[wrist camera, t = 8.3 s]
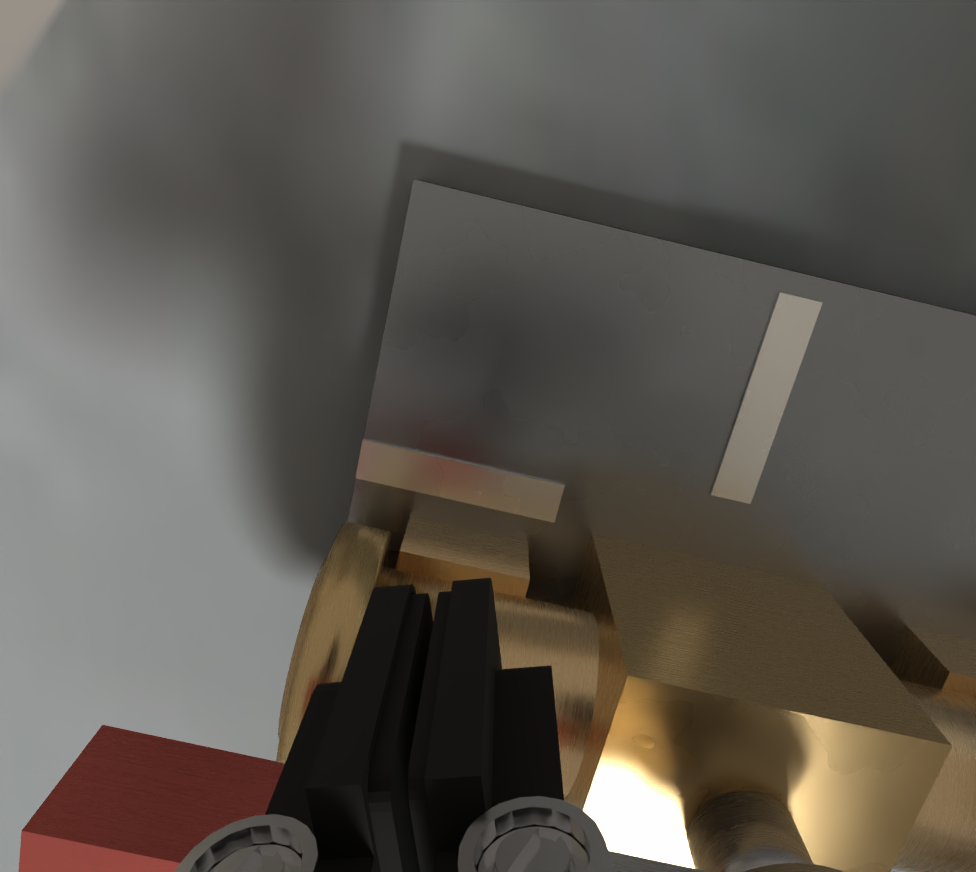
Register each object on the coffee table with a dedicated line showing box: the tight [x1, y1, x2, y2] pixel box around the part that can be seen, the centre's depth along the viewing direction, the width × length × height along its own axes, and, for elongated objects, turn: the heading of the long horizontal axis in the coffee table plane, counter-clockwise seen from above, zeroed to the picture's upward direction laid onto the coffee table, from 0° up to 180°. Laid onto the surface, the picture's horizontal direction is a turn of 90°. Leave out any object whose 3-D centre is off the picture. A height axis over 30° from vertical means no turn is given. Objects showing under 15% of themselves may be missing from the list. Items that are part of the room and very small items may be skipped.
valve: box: [276, 179, 976, 872], centre depth 16 cm, size 20×14×9 cm
